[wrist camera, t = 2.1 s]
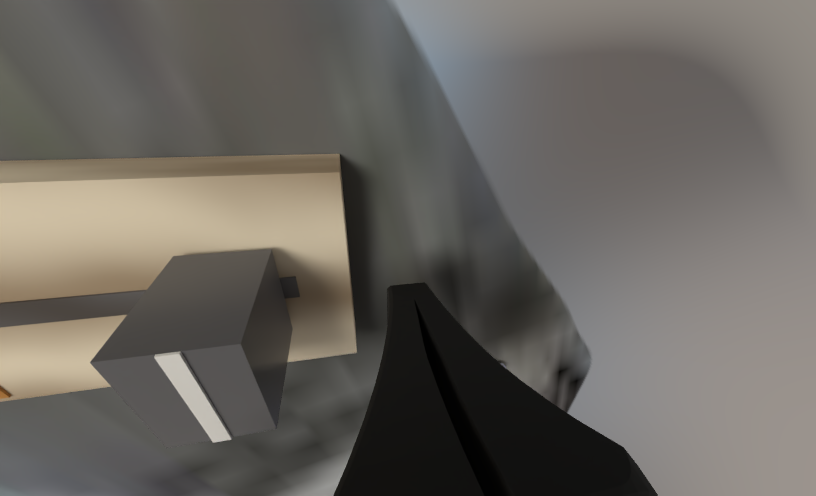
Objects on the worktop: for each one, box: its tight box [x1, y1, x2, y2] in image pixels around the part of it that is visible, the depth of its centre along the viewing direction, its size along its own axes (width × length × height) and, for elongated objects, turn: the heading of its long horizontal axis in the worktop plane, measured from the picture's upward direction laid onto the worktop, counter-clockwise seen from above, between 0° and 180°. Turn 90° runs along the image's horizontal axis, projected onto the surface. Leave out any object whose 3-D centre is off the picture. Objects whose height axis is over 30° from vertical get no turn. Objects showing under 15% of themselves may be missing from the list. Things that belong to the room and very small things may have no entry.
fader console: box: [0, 154, 357, 402], centre depth 11 cm, size 9×20×2 cm, turn 87°
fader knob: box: [90, 249, 293, 448], centre depth 9 cm, size 4×3×4 cm
